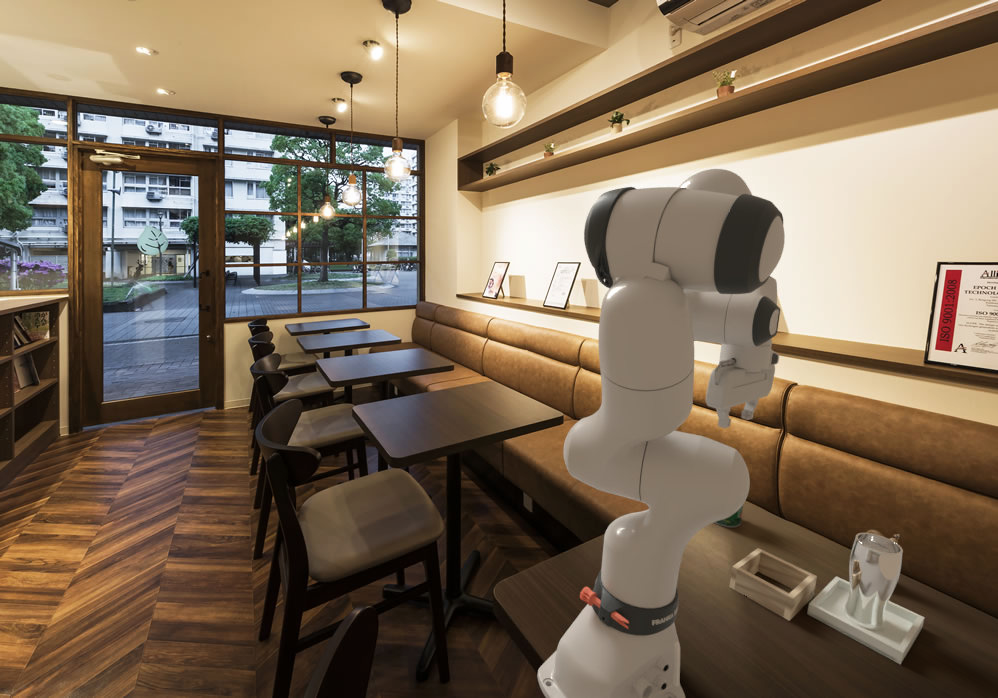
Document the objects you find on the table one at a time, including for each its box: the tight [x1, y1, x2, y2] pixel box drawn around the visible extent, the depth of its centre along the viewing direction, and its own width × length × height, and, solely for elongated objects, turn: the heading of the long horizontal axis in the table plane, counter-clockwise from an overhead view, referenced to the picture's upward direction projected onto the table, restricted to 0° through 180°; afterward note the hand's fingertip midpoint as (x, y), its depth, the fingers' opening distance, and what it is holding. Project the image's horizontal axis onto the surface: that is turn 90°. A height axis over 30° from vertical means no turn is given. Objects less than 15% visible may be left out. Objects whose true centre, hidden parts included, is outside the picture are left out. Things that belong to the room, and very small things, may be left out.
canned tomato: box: [714, 504, 744, 528], centre depth 119 cm, size 8×8×11 cm
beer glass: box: [843, 532, 904, 630], centre depth 85 cm, size 7×7×15 cm
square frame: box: [729, 547, 818, 622], centre depth 93 cm, size 11×11×4 cm
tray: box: [806, 576, 925, 665], centre depth 86 cm, size 14×14×2 cm
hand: (735, 422), depth 97 cm, fingers open, 8 cm apart
